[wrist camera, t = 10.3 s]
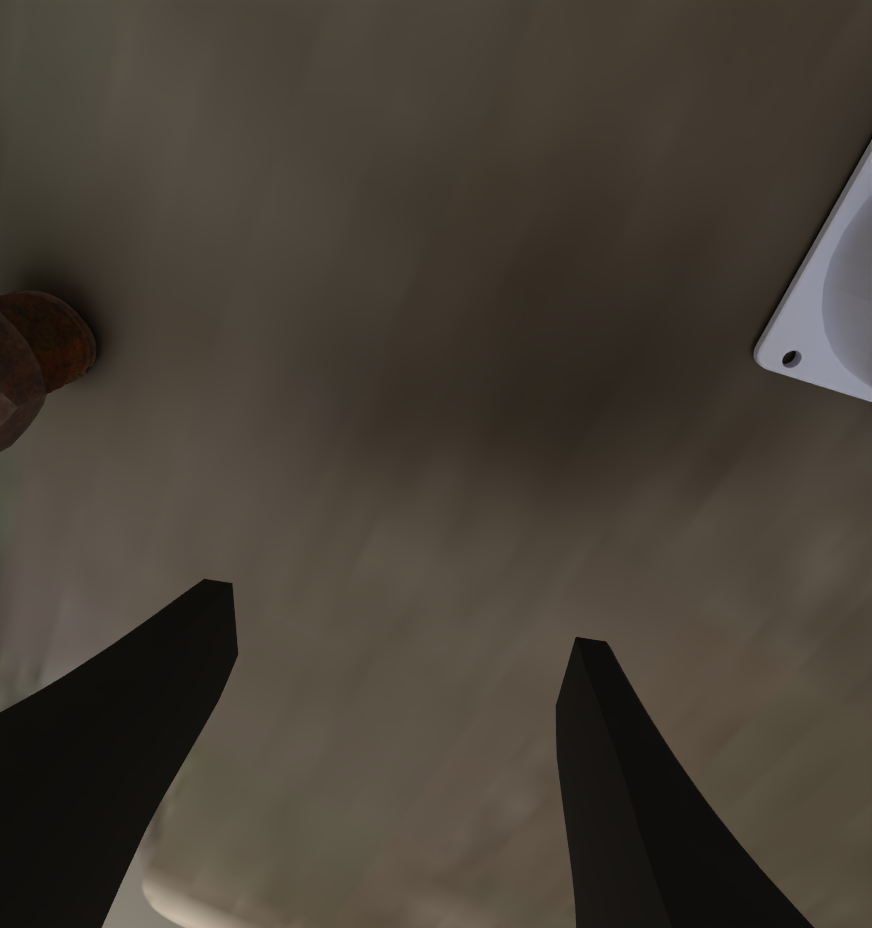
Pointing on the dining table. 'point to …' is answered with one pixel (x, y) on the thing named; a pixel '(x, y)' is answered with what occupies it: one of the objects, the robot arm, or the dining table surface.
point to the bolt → (37, 356)
